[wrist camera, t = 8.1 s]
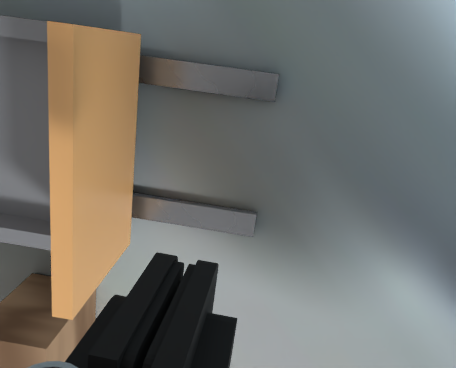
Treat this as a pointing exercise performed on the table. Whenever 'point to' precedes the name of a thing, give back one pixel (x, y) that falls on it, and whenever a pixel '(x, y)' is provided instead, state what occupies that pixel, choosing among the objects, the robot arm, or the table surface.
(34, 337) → the walnut block
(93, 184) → the grey and tan frame
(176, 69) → the rail track
